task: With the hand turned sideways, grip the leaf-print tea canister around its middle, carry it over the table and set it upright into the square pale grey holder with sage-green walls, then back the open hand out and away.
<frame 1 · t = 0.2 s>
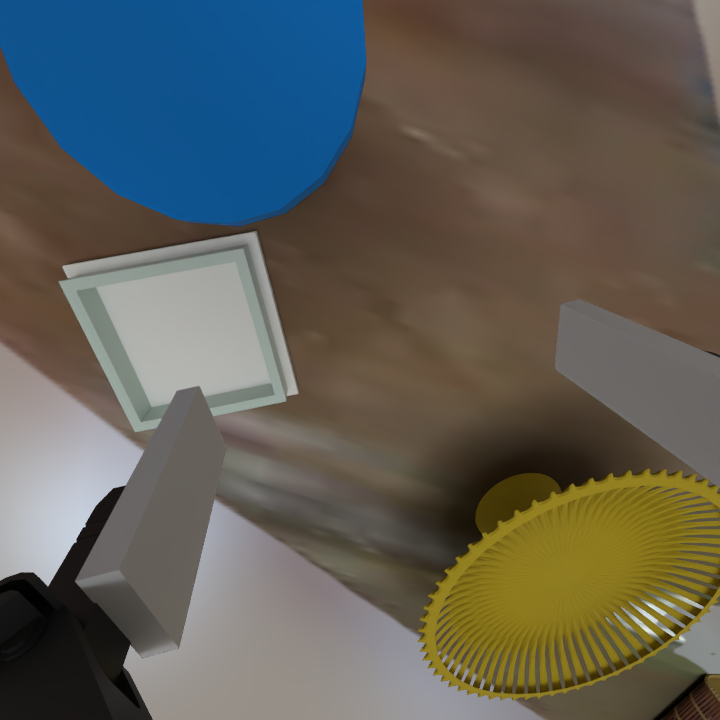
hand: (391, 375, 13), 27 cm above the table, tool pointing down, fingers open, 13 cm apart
leaf-print tea canister: (269, 144, 34), on the table
yellow pedestal fruit bowl: (517, 507, 57), on the table
picnic basket: (694, 701, 95), on the table
holder: (196, 333, 39), on the table
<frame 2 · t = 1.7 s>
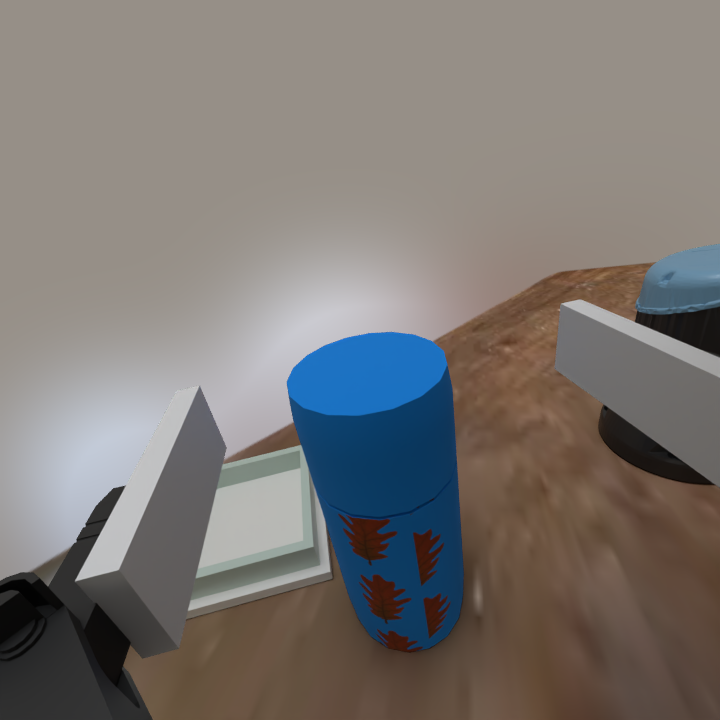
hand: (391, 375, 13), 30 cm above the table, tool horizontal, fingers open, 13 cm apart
leaf-print tea canister: (407, 590, 36), on the table
holder: (253, 527, 45), on the table
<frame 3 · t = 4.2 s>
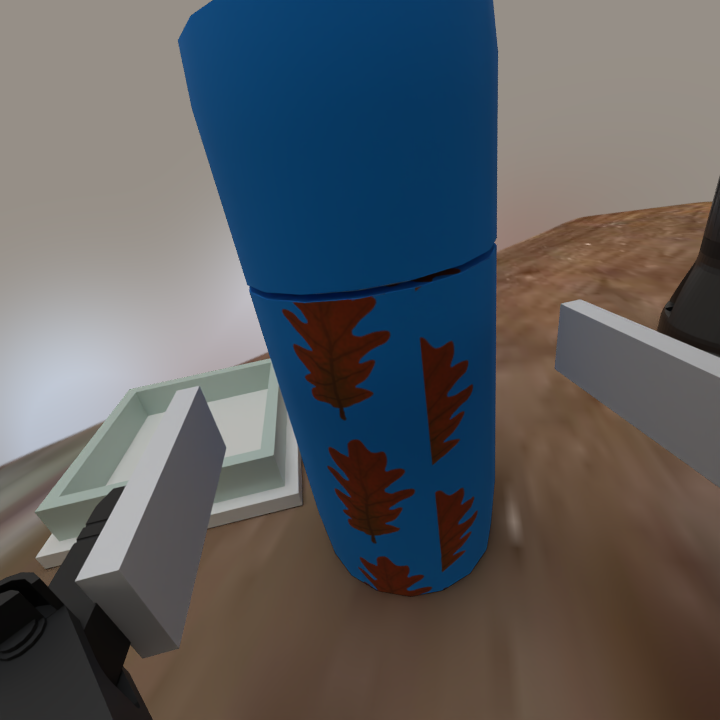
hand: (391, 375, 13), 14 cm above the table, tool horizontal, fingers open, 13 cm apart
leaf-print tea canister: (407, 516, 25), on the table
holder: (204, 452, 34), on the table
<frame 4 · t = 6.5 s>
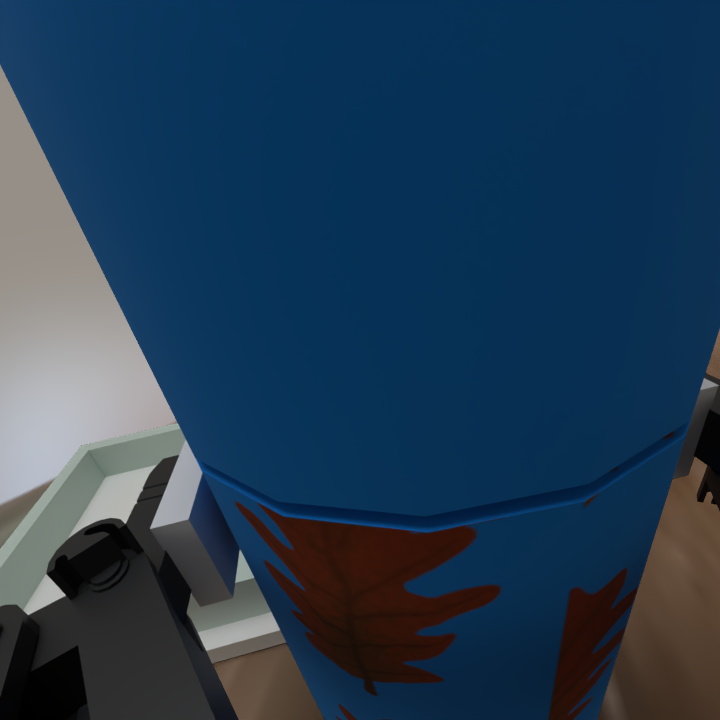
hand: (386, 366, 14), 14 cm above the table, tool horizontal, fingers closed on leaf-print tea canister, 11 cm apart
leaf-print tea canister: (447, 672, 17), on the table, touching gripper
holder: (170, 535, 26), on the table
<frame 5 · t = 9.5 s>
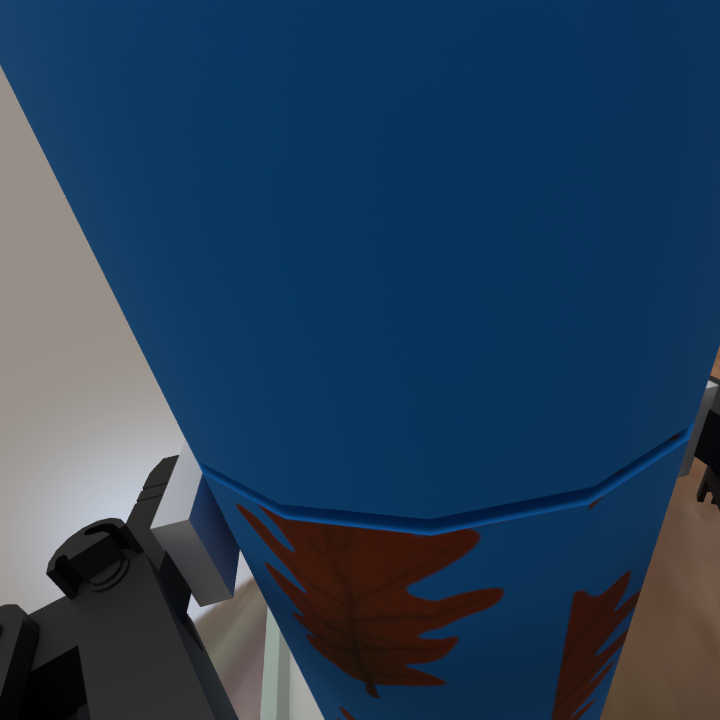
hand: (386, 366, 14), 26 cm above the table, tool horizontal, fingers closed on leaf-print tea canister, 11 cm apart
leaf-print tea canister: (448, 673, 17), point 12 cm above the table, touching gripper
holder: (391, 698, 26), on the table
when the fingers open (16 cm above the table, at t = 12.8 s): leaf-print tea canister drops 1 cm, resting on holder.
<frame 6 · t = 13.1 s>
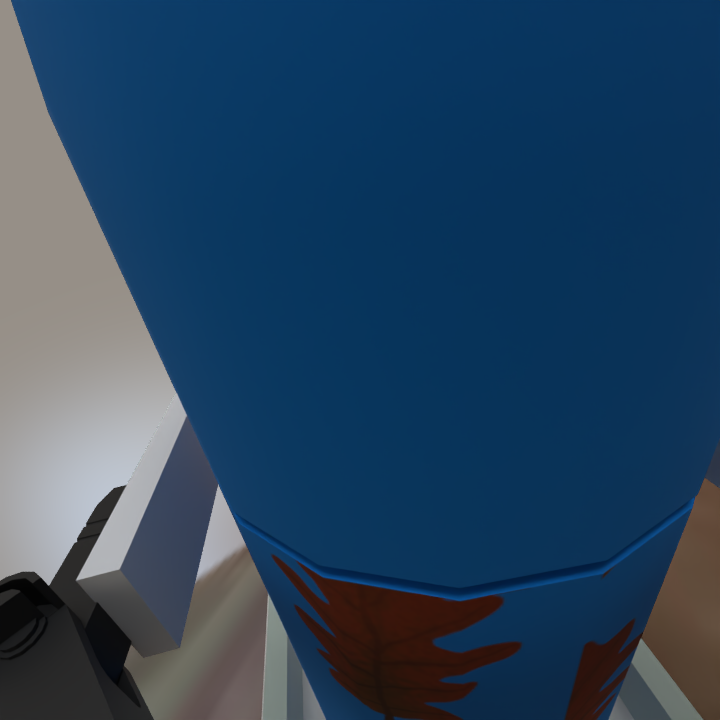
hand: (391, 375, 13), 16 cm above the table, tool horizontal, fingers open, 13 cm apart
leaf-print tea canister: (449, 686, 17), point 1 cm above the table, touching holder
holder: (449, 694, 18), on the table
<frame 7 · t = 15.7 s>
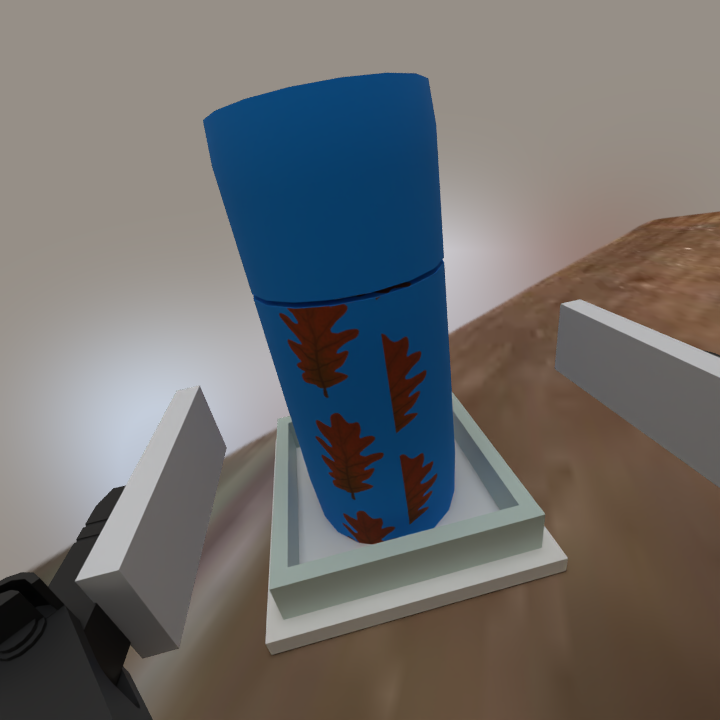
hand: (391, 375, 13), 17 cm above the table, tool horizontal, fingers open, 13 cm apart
leaf-print tea canister: (386, 486, 29), point 1 cm above the table, touching holder
holder: (387, 494, 30), on the table
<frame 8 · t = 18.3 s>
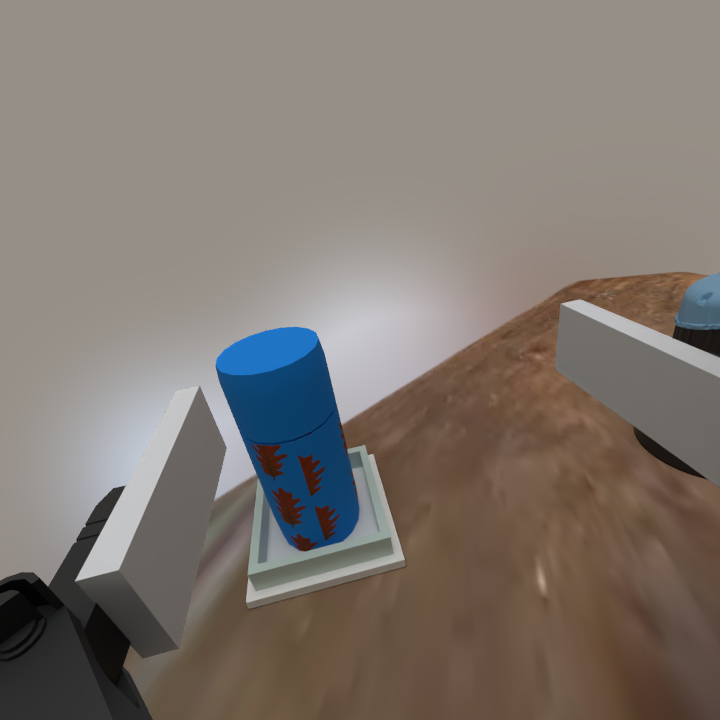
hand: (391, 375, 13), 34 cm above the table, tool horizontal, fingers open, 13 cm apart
leaf-print tea canister: (321, 516, 49), point 1 cm above the table, touching holder
holder: (322, 521, 49), on the table
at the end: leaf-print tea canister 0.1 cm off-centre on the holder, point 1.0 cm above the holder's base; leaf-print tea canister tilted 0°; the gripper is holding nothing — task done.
